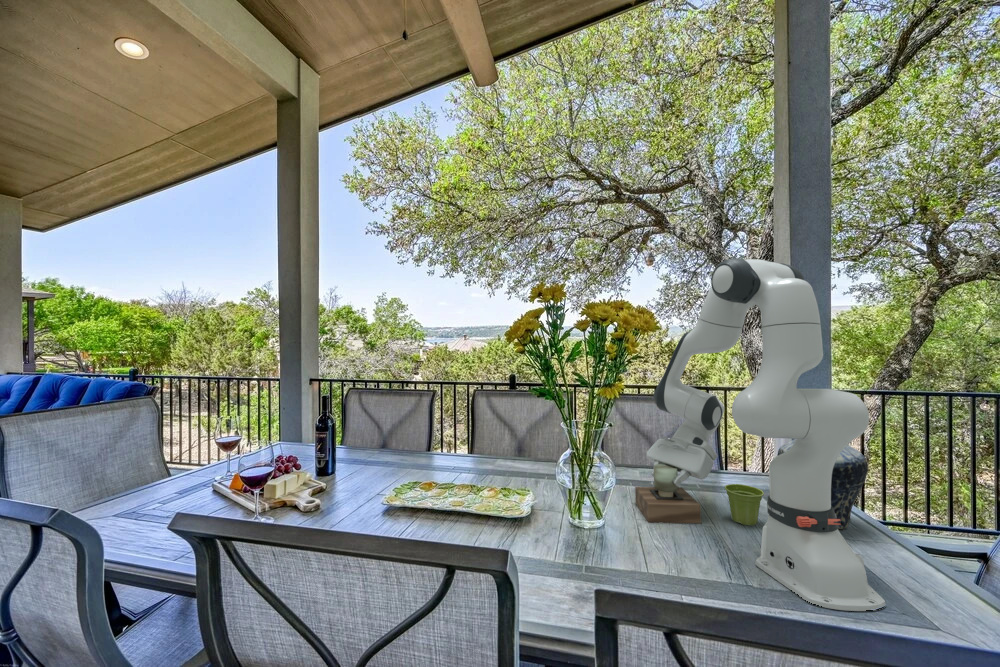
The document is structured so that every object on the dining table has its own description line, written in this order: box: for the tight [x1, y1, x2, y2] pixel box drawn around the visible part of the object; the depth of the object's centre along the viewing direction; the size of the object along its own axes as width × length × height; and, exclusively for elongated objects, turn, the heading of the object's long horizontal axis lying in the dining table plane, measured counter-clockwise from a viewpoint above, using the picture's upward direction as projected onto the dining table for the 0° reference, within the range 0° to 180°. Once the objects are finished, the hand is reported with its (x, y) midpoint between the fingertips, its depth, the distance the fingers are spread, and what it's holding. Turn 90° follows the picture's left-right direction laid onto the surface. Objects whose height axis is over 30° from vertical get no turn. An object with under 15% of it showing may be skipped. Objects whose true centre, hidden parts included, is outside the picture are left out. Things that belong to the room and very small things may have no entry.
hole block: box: [634, 486, 702, 524], centre depth 122 cm, size 14×14×5 cm
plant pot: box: [724, 483, 765, 526], centre depth 116 cm, size 9×9×9 cm
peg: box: [653, 464, 679, 497], centre depth 123 cm, size 6×6×10 cm
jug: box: [777, 439, 869, 530], centre depth 115 cm, size 21×19×30 cm
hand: (664, 480), depth 122 cm, fingers closed on peg, 6 cm apart
